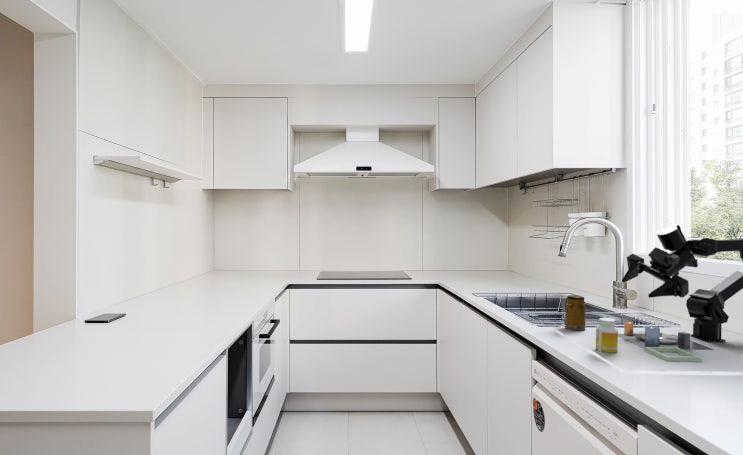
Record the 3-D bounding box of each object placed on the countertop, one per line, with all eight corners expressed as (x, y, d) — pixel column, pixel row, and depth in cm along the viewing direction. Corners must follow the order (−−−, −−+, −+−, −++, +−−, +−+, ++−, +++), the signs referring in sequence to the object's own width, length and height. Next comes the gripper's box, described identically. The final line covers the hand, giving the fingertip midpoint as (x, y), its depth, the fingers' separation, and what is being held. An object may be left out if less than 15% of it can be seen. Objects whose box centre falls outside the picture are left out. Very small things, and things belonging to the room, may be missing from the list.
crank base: (674, 337, 133) (674, 321, 133) (715, 352, 117) (715, 335, 117) (612, 336, 134) (613, 320, 134) (644, 351, 118) (644, 334, 118)
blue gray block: (654, 344, 122) (654, 326, 122) (662, 348, 119) (662, 329, 119) (641, 344, 122) (642, 325, 122) (649, 347, 119) (650, 328, 119)
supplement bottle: (591, 351, 118) (591, 318, 118) (605, 349, 119) (605, 316, 119) (607, 357, 113) (608, 322, 112) (622, 355, 114) (622, 320, 114)
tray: (676, 353, 116) (676, 347, 116) (701, 364, 107) (701, 357, 107) (644, 353, 116) (644, 346, 116) (666, 363, 107) (667, 357, 107)
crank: (661, 333, 133) (662, 319, 133) (687, 343, 122) (687, 327, 122) (614, 333, 133) (614, 318, 133) (635, 343, 122) (636, 327, 122)
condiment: (570, 327, 145) (570, 293, 144) (595, 332, 138) (595, 297, 138) (560, 331, 140) (560, 296, 140) (585, 336, 133) (586, 299, 133)
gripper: (645, 231, 133) (607, 256, 132) (704, 256, 117) (662, 285, 116) (647, 256, 139) (611, 280, 137) (704, 284, 123) (664, 311, 121)
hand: (635, 288), depth 128 cm, fingers open, 9 cm apart
